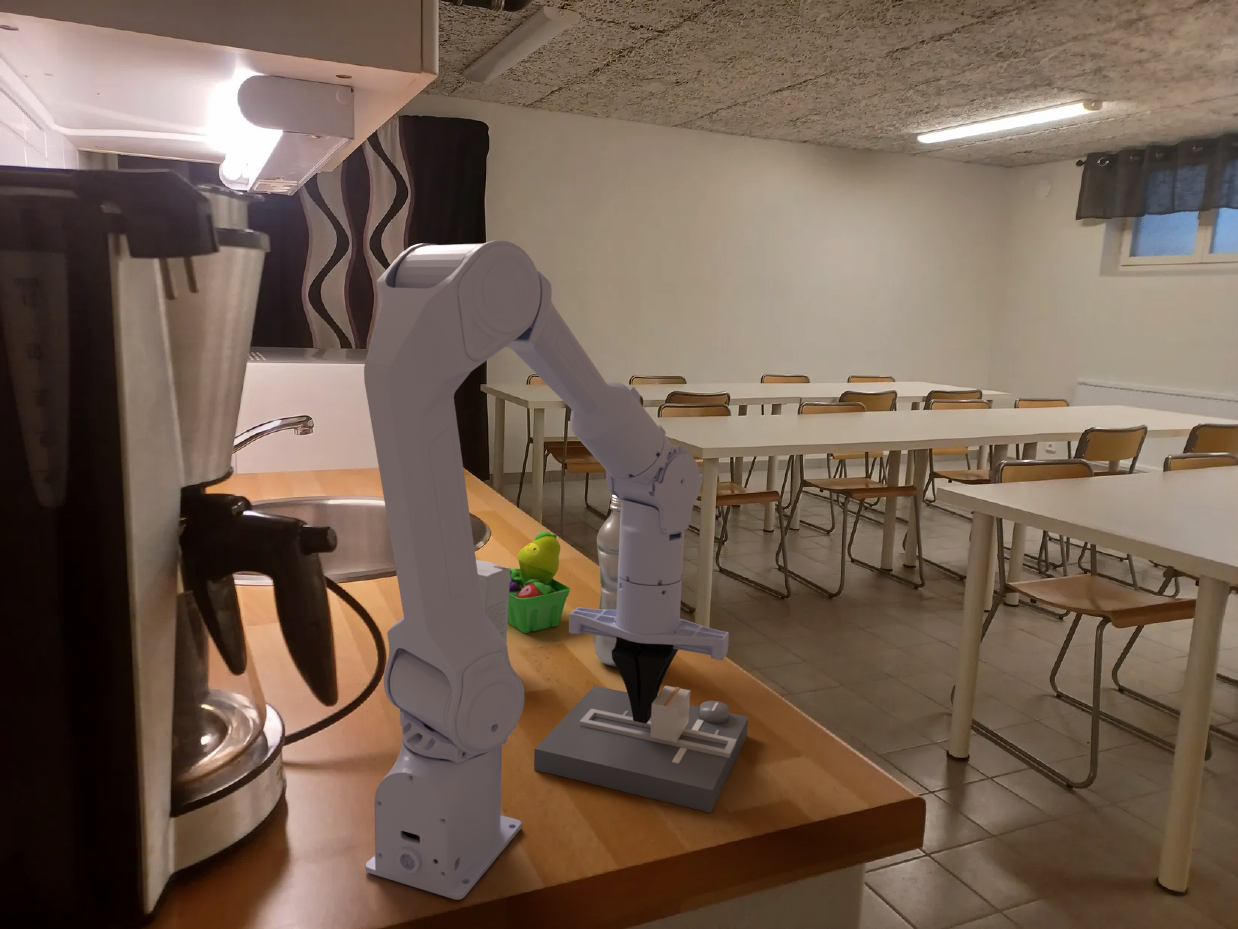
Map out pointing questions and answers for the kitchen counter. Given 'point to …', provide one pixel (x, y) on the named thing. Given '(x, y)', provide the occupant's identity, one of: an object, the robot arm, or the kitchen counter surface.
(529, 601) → the fruit basket
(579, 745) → the console
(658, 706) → the fader cap
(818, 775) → the kitchen counter surface
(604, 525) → the plastic bottle
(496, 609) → the skincare box
